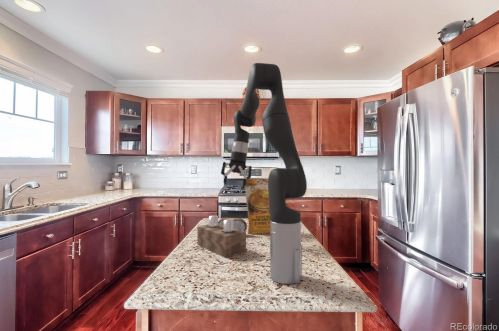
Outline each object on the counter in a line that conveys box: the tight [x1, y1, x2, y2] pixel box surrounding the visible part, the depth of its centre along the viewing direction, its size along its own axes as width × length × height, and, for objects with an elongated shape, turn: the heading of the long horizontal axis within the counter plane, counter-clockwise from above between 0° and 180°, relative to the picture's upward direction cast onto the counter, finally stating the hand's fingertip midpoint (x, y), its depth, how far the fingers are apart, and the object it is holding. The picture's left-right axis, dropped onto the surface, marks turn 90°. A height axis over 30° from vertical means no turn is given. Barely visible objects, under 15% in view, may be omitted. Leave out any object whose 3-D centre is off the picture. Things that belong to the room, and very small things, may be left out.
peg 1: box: [208, 215, 219, 228], centre depth 109 cm, size 4×4×8 cm
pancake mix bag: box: [244, 178, 270, 235], centre depth 131 cm, size 7×19×28 cm, turn 103°
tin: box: [218, 217, 248, 232], centre depth 126 cm, size 15×3×8 cm, turn 84°
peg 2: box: [224, 219, 234, 233], centre depth 100 cm, size 4×4×8 cm
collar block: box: [196, 224, 247, 259], centre depth 105 cm, size 21×10×8 cm, turn 41°
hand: (234, 185), depth 119 cm, fingers open, 8 cm apart
